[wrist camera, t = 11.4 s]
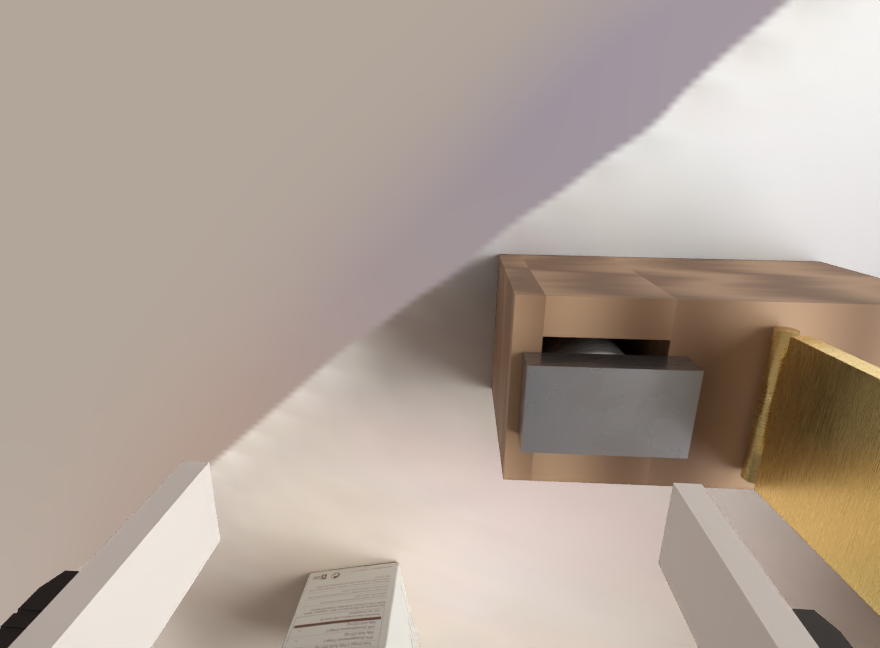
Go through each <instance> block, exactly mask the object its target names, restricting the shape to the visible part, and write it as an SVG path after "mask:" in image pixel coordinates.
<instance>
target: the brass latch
mask: <svg viewBox="0 0 880 648" xmlns="http://www.w3.org/2000/svg"><path fill="white" fill-rule="evenodd" d="M799 335H800V331H799V330H797V329H794V328H790V327H782V326H777V327H774V329H773V334H772V338H771V343H770V347H769V351H768V356H767V360H766V364H765V369H764V373H763V378H762V382H761V386H760V391H759V395H758V400H757V404H756V408H755V413H754V417H753V422H752V426H751V430H750V435H749V439H748V443H747V448H746V452H745V457H744V461H743V465H742V470H741V474H740V476H741V477H742V478H743V479H744V480H745V481H747V482H750V483H753V484H755V486H754V490H755V491H756V492H757V493H758V494H759V495H760V496H761V497H762V498H763V499H764V500H765V501H766V502H767V503H768V504H769V505H770V506H771V507H772V508H773V509H774V510H775V511H776V512H777V513H778V514H779V515H780V516H781V517H782V518H783V519H784V520H785V521H786V522H787V523H788V524H789V525H790V526H791V527H792V528H793V529H794V530H795V531H796V532H797V533H798V534H799V535H800V536H801V537H802V538H803V539H804V540H805V541H806V542H807V543H808V544H809V545H810V546H811V547H812V548H813V549H814V550H815V551H816V552H817V553H818V554H819V555H820V556H821V557H822V558H823V559H824V560H825V561H826V562H827V563H828V564H829V565H830V566H831V567H832V568H833V569H834V570H835V571H836V572H837V574H838V575H839V576H840V577H841V578H842V579H843V580H844V581H845V582H846V583H847V584H848V585H849V586H850V587H851V588H852V589H853V590H854V591H855V592H856V593H857V594H858V595H859V596H860V597H861V598H862V599H863V600H864V601H865V602H866V603H867V604H868V605H869V606H870V607H871V608H872V609H873V610H874V611H875V612H876V613H877V614H878V615H879V616H880V368H879V367H877V366H874V365H872V364H870V363H868V362H866V361H863V360H861V359H859V358H857V357H855V356H853V355H850V354H848V353H846V352H844V351H842V350H839V349H837V348H835V347H833V346H831V345H828V344H826V343H824V342H822V341H820V340H818V339H815V338H813V337H811V336H799Z"/></svg>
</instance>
